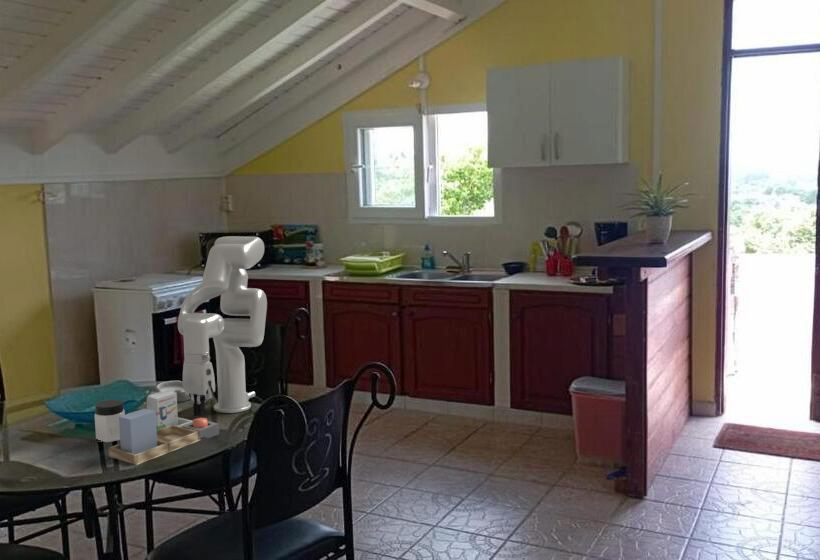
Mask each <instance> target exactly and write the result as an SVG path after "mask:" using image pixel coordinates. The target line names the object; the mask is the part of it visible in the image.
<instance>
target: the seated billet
mask: <svg viewBox="0 0 820 560" xmlns="http://www.w3.org/2000/svg"><path fill="white" fill-rule="evenodd" d="M119 429H120V440H119V444H121V450H122V451H126V452H129V453H133V454H138V453H141V452H144V451H146V450H149V449H152V448H154V447H157V429H156V412H155V411H152V410H148V409H147V408H141V409H138V410H135V411H133V412H129V413H125V415H122V416H119Z"/></svg>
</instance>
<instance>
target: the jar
mask: <svg viewBox="0 0 820 560" xmlns="http://www.w3.org/2000/svg"><path fill="white" fill-rule="evenodd" d="M94 408H95V409H94V410H95V414H94V426H95V427H94V428H95V438H96V439H98V440H101V441H100V442H102V441H103V442H104V443H113V442H115V441H120V429H119V416H122V415H126V412H125V408H124V402H123V401H122V400H119V399H108V400H102V401H99V402H97V403H96V404H94ZM96 439H95V440H96Z"/></svg>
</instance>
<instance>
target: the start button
mask: <svg viewBox="0 0 820 560" xmlns="http://www.w3.org/2000/svg"><path fill="white" fill-rule="evenodd" d="M192 421H193V427H195V428H199V429H200V428H203V427H206V426H208V423H207V421H208V418H206V417H198V418H197V417H196V418H194V419H192Z"/></svg>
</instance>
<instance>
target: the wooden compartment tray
mask: <svg viewBox="0 0 820 560" xmlns="http://www.w3.org/2000/svg"><path fill="white" fill-rule="evenodd" d="M199 441H201V438H200V432H199V431H195V430H191V429H187V428H183V427H179V426H175V425H171V426H168V427H165V428H162V429H160V430H157V447H154V448H152V449H149V450H146V451H144V452H141V453H138V454H133V453H129V452H126V451H122V450H121V444H120V443H118V444H115V445H112V446H110V447H107V457H109V458H112V459H117V460H120V461H122V462H123V461H124V462H127V463H129V464H133V465H137V466H139V465H141V464H143V463H145V462H148V461H150V460H153V459H157V458H158V457H161V456H164V455H166V454H169V453H172V452H174V451H176V450H179V449H181V448H184V447H186V446H188V445H192V444H194V443H197V442H199Z"/></svg>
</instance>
